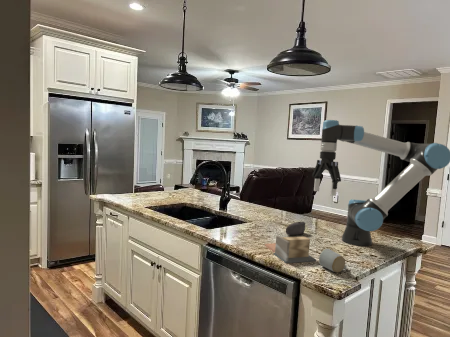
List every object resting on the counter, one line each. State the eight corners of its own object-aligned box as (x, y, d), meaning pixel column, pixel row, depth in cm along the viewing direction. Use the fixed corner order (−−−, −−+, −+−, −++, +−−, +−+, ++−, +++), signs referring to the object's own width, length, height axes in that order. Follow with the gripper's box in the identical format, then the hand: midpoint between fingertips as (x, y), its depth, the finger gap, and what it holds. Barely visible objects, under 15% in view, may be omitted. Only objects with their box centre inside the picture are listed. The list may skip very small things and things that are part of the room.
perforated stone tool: (288, 237, 177) (289, 224, 176) (281, 234, 181) (282, 222, 180) (307, 234, 185) (308, 222, 184) (300, 232, 189) (301, 220, 189)
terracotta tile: (286, 242, 162) (265, 243, 158) (297, 249, 153) (275, 250, 149) (286, 245, 162) (264, 247, 158) (297, 252, 153) (274, 254, 149)
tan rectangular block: (299, 251, 151) (301, 234, 150) (312, 259, 141) (313, 241, 141) (274, 252, 146) (276, 235, 146) (286, 260, 137) (287, 242, 136)
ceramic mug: (332, 274, 127) (334, 255, 127) (317, 267, 134) (319, 249, 134) (351, 271, 132) (353, 253, 132) (336, 264, 139) (338, 247, 139)
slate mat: (302, 252, 152) (302, 251, 152) (315, 261, 141) (316, 259, 141) (273, 254, 147) (273, 252, 147) (285, 263, 136) (285, 261, 136)
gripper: (307, 149, 173) (304, 189, 174) (338, 152, 149) (334, 197, 151) (319, 150, 175) (316, 189, 177) (351, 152, 152) (347, 197, 153)
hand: (324, 193), depth 164 cm, fingers open, 13 cm apart
